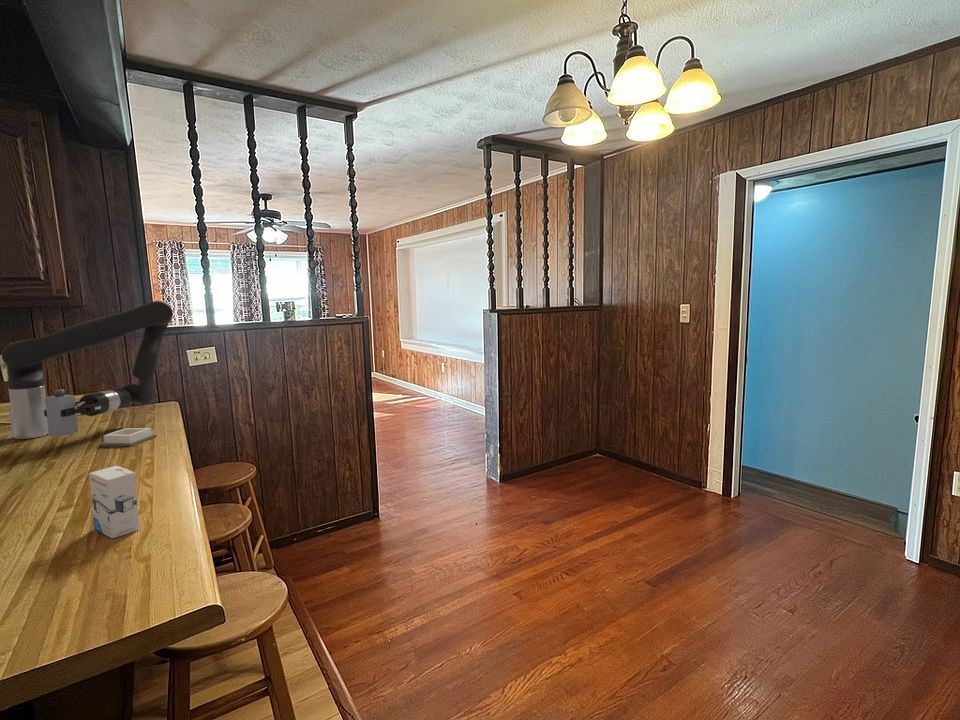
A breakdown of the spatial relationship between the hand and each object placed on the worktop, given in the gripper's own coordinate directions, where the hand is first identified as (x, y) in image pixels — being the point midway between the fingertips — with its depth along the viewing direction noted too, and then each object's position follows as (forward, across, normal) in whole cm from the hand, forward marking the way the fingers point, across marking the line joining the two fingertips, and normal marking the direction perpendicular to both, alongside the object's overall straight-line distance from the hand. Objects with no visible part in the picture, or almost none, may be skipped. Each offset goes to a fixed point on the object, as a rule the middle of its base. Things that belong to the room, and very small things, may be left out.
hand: (53, 413), depth 151 cm
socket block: (-10, +16, +11) cm, 22 cm away
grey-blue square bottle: (-3, 0, +7) cm, 8 cm away
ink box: (+50, +64, +11) cm, 82 cm away
